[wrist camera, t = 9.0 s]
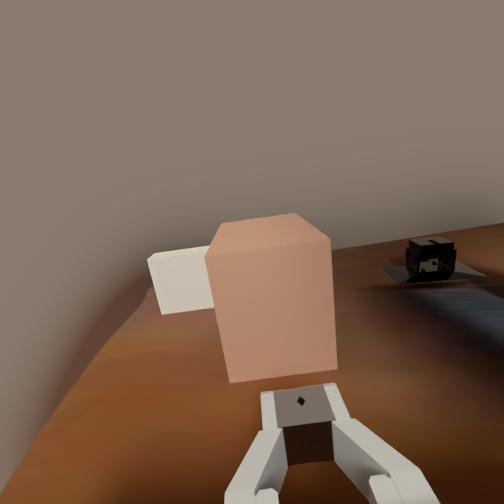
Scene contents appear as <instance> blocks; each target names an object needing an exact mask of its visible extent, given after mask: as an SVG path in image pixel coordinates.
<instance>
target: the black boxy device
mask: <svg viewBox="0 0 504 504" xmlns="http://www.w3.org/2000/svg"><path fill="white" fill-rule="evenodd" d="M456 251H457V250H456V249H454V242H452V241H450V240H447V239H445V238H442V237H440V236H437V237H428V238H418V239H409V247H406V252H405V255H406V265H402V266H391V267H381V268H382V269H383V270H384V271H385V272H386V273H387V274H389V275H390V276H391V277H392V278H393V279H394V280H395V281H396V282H398V283H399V284H404V283H417V282H430V281H443V280H456V279H469V278H482V277H487V276H486V275H484V274H482V273H480V272H478V271H476V270H474V269H472V268H470V267H468V266H466V265H464V264H462V263H460V262H458V261H456ZM437 258H438V261H432V262H426V263H420V261H428V259H437Z"/></svg>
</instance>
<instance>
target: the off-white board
mask: <svg viewBox="0 0 504 504" xmlns="http://www.w3.org/2000/svg"><path fill="white" fill-rule="evenodd" d="M209 247H210V246H203V247H196V248H190V249H182V250H175V251H168V252H161V253H155V254H153V255H152V256H151V257H150V258H148V259H147V261H148V265H149V269H150V273H151V276H152V280H153V284H154V288H155V291H156V295H157V299H158V302H159V306H160V310H161V314H162V315H164V314H171V313H178V312H186V311H193V310H200V309H208V308H215V307H214V302H213V297H212V292H211V287H210V282H209V278H208V273H207V268H206V263H205V258H204V256H205V254H206V252H207V251H208V249H209Z"/></svg>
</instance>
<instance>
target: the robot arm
mask: <svg viewBox="0 0 504 504" xmlns="http://www.w3.org/2000/svg"><path fill="white" fill-rule="evenodd" d="M273 391H274V393H273ZM273 391H265V392H261V395H260V396H261V411H262V426H263V430H262V431H259V432H258V434H257V435H256V437H255V439H254V441H253V443H252V445H251V446H250V448H249V450H248V452H247V454H246V455H245V457H244V459H243V461H242V463H241V464H240V466H239V468H238V470H237V472H236V474H235V475H234V477H233V479H232V481H231V483H230V484H229V486H228V488H227V490H226V492H225V500H224V504H279V498H278V497H279V494H280V491H281V488H282V485H283V482H284V479H285V476H286V472H287V469H288V466H291V465H297V464H304V463H310V462H320V461H330V460H335V463H336V464H337V465H338V466H339V467H340V468H341V470H342V471H343V472H344V473H345V474H346V475H347V477H348V478H349V479H350V480H351V481H352V482H353V484H354V485H355V486H356V487H357V488H358V489H359V491H360V492H361V493H362V494H363V495H364V496H365V498H366V499H367V500H368V501H369V504H440V502H439V501H438V499H437V497H436V496H435V494H434V492H433V491H432V489H431V487H430V486H429V484H428V482H427V480H426V479H425V477H424V475H423V474H422V472H421V470H420V469H419V468H418V467H417V466H415V465H414V464H413V463H412V462H410V461H409V460H408V459H407V458H405V457H404V456H403V455H401V454H400V453H399V452H398V451H396V450H395V449H394V448H392V447H391V446H390V445H389V444H387V443H386V442H385V441H383V440H382V439H381V438H380V437H378V436H377V435H376V434H375V433H373V432H372V431H371V430H369V429H368V428H367V427H366V426H364V425H363V424H362V423H360V422H359V421H358V420H357V419H355V418H354V419H351V417H350V415H349V413H348V410H347V408H346V406H345V403H344V401H343V399H342V397H341V394H340V392H339V390H338V388H337V385H336V384H335V383H334V382H333V383H326V384H322V385H321V384H319V385H312V386H305V387H298V388H291V389H282V390H273Z"/></svg>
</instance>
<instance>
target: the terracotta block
mask: <svg viewBox="0 0 504 504" xmlns="http://www.w3.org/2000/svg"><path fill="white" fill-rule="evenodd" d="M204 258H205V263H206V268H207V273H208V278H209V282H210V287H211V292H212V297H213V302H214V307H215V312H216V317H217V322H218V327H219V332H220V337H221V342H222V347H223V352H224V357H225V362H226V367H227V372H228V377H229V382H230V383H235V382H242V381H250V380H258V379H265V378H273V377H281V376H288V375H296V374H304V373H311V372H319V371H327V370H334V369H337V351H336V332H335V312H334V293H333V274H332V255H331V240H330V238H329V237H327V236H326V235H324V234H323V233H322V232H320V231H319V230H317V229H316V228H315V227H314V226H312V225H311V224H309V223H308V222H307V221H305V220H304V219H302V218H301V217H300V216H298V215H297V214H296V213H292V214H285V215H278V216H271V217H264V218H257V219H250V220H242V221H236V222H229V223H222V224H221V226H220V228H219V230H218V231H217V233H216V235H215V237H214V239H213V241H212V243H211V245H210V247H209V249H208V251H207V252H206V254H205V256H204Z"/></svg>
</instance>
